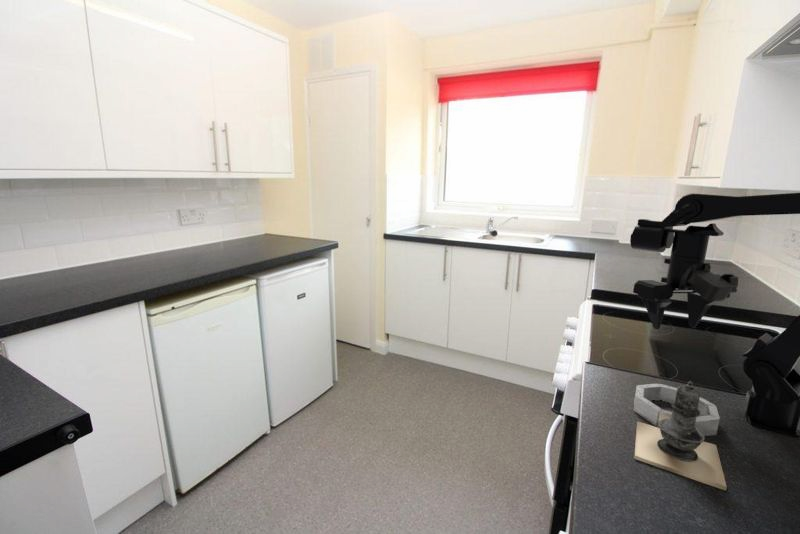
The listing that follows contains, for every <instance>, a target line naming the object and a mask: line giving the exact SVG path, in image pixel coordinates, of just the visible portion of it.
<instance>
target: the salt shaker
mask: <svg viewBox="0 0 800 534" xmlns="http://www.w3.org/2000/svg"><path fill="white" fill-rule="evenodd" d="M693 384H694V383H693V381H692V380H689V381H688V382H687V384H681V385H679V386H678V387H676V388H677V393H676V398H675V402H673V403H670V404H671V407H672V410H671V412H672V416H671V418H670V419H664V420H661V421H659V427H660V431H661V435H662V437H663V438H664V439H661V440H659V441H658V443H657V445H658V447H659V448H660V450H662V451H663V452H664V453H665V454H667V455H669V456H671V457H673V458H675V459H678V460H681V461H686V462H693V461H696V460H697V459H698V455H697V453H696V452H695V451H694V450H693V449H696V448H697V447H698V446H699V445H700V444H701V442H703V441H704V442H705V439H706V438H705V437H706V436H704V435H703V434H702V433H701V432H700V431H699V430H698V429H697V428H696V427H695V422H696V417H698V415H699V414H700V411H699V410H698V404H699V399H700V397H701V392H700V391H699V389H697V388H696V387H694V386H693ZM659 427H658V428H659Z"/></svg>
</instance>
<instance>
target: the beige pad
mask: <svg viewBox="0 0 800 534" xmlns="http://www.w3.org/2000/svg"><path fill="white" fill-rule="evenodd" d="M635 431H636V432H635V444H634V457H633V458H634V460H637V461H640V462H642V463H645V464H649V465H652V466H654V467H656V468H660V469H663V470H664V471H667V472H671V473H675V474H677V475H680V476H683V477H685V478H688V479H691V480H694V481H696V482H699V483H702V484H705V485H707V486H708V485H709V486H711V487H714V488H716V489H720V490H721V491H722V490H723V491H727V487H728V485H727V483H726V478H725V473H724V470H723V467H722V463H721V460H720V456H719V451H718V448H717V444H714V443H711V442H707V441H705V440H704V441H703V442H701V444H700V445H699V446H698V447H697V448H696V449H693V450H694V451H695V452H696V453H697V455H698V459H697V460H696V461H693V462H686V461H681V460H678V459H675V458H673V457H671V456H669V455H667V454H665V453H664V452H663V451H662V450H660V448H659V447H658V445H657V443H658V441H659V440H661V439H664V438H663V437H662V435H661V431H660V428H659V427H657V426H655V425H652V424H648V423H644V422H641V421H637V422H636V430H635Z"/></svg>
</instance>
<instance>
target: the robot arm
mask: <svg viewBox="0 0 800 534" xmlns="http://www.w3.org/2000/svg"><path fill="white" fill-rule="evenodd" d="M773 215H778V216H779V215H780V216H781V215H800V192H790V193H789V192H788V193H774V194H759V195H758V194H757V195H756V194H755V195H742V196H741V195H740V196H732V195H719V194H705V193H703V194H702V193H688V194H685V195H683V196H681V198H680V199H678V200H677V202H676V204H675V206H674V209H673V210H672V211H671V212H670V213H669V214H668V215H667V216H666V217H665V218H663V220H662V221H661V220H651V219H646V218H645V219H644V218H639V219H638V220H637V224H636V225H635V227H634V228H633V231H632V233H631V235H630V240H629V241H630V242H629V243H630V247H631V248H632V249H633V250H638V251H639V250H640V251H647V252H655V253H664V252H665V251H666V249H670V248H671V252H670V257H669V258H667V257H666V258H664V262H663V263H664V264H668V268H667V275H666V276H665V277H663V276H662V277H661V279H660V282H659V281H656V280H653V279H642V280H640V279H639V280H637V281H635V283H634V285H633V291H632V293H634V294H636V295H637V297H638V298H640V299H641V300H642V303H643V304H644V306H645V308H646V311H647V314H648V316H649V319H650V323H651V325H652V327H653V329H655V330H657V331H658V330H660V329H661V325H662V322H663V319H664V314H665V311H666V307H668V306H669V305H671V304H672V303H673V300H670V299H671V298H672V297H673V296H674V294H686V295H687V296H686V297H687V298H686V299H687V319H688V325H689V327H691V328H693V329H695V328H696V327H697V325H699V323H700V322H701V320H702V319H703V317H704V315H705V314H706V312H707V311H708V310H709V309H710V308H711V306H712V305H715V304H718V303H720V302H721V303H722V302H723V301H725V300H726V299H729V298H730V296H731V294H732V293H733V294H734V293H737V291H738V289H737V288H738V285H739V276H737V275H736V274H734V273H724V274H722V275H720V274H715V273H713V272H711V267H712V266H711V263H710V262H706V257H707V251H708V245H709V241H710V237H721V236H724V231H722V230H721V229H720V228H719V227H718V226H717V224H716V223H714V222H713V223H709V224H707V225H706V226H702V225H690V224H694V223H695V224H696V223H697V224H699V223H707V222H712V221H720V220H724V219H729V218H735V217H743V216H746V217H747V216H773ZM686 226H687V227H686ZM674 227H686V229H676V228H674ZM742 356H743V358H744V357H745V359H744V360H743V362H742V369H743V373H744V374H745V375H746V376H747V378H749V379H750V380H751V383H752V387H751V390H747V391H746V395H745V399H744V403H743V406H742V410H743V413H744V415H745V416H746V417H747V420H748V423H749V424H750V425H753V426H756V427H759V428H763V429H766V430H769V431H770V430H771V431H772V432H773V431H774V432H777V433H781V434H783V435H784V434H785V435H789V436H792V437H796V438H800V431H799V430H798V427H799V423H800V373H799V372H798V371H797V369H796V368H795V366H796V365H797V364H798V362H799V360H800V314H799V315H797V317H796V318H795V319H794V320H793V321H792V322H791V323H790V324H789V325H788V326H787V327H786V328H785V329H784V330H783V331H782V332H781V333H779V334H777V336H775V337H773V336H772V335H770V334H769V333H767V332H765V333H764V334H763V335H761V336H759V338H757V340H756V341H755V343H754V344H753V346H752V347H750V348H749V349H748V350H747V351H745V352H744V353H742Z"/></svg>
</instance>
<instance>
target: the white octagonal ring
mask: <svg viewBox="0 0 800 534" xmlns="http://www.w3.org/2000/svg"><path fill="white" fill-rule="evenodd" d="M635 388H636V389H635V395H634V402H633V411H634V412H635V413H636V414H637V415H639V416H640V417H642V418H644V419H645V420H646V421H647V422H648V423H650V424H651V425H652V426H654V427H658V428H660V427H659V421H661V420H664V419H670V418H671V416H672V411H671V410H670V411H669V410H666V409H663V408H661V407H660V406H658V405H656V404H655V403H653V401H652V400H655V401H660V400H662V401H661V402H664V401H666V402H665V403H667V402H669V403H668V404H671V403H673V402H675V398H676V393H677V388H678V387H674V386H670V385H666V384H663V383H662V384H661V383H649V384H648V383H647V384H646V383H645V384H638V385H636V387H635ZM698 410H699V411H700V414H699V415H697V417H696V422H695V427H696V428H697V429H698V430H699V431H700V432H701V433H702V434H703V435H704V437H706V436H709V437H710V436H716V435H717V433H718V428H719V425H720V420H721V417H720V415H719V411H718V408H717V406H716V404H714V403H712V402H711V401H708V400H707V399H705V398H703V397H701V396H700V399H699V404H698Z"/></svg>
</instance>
